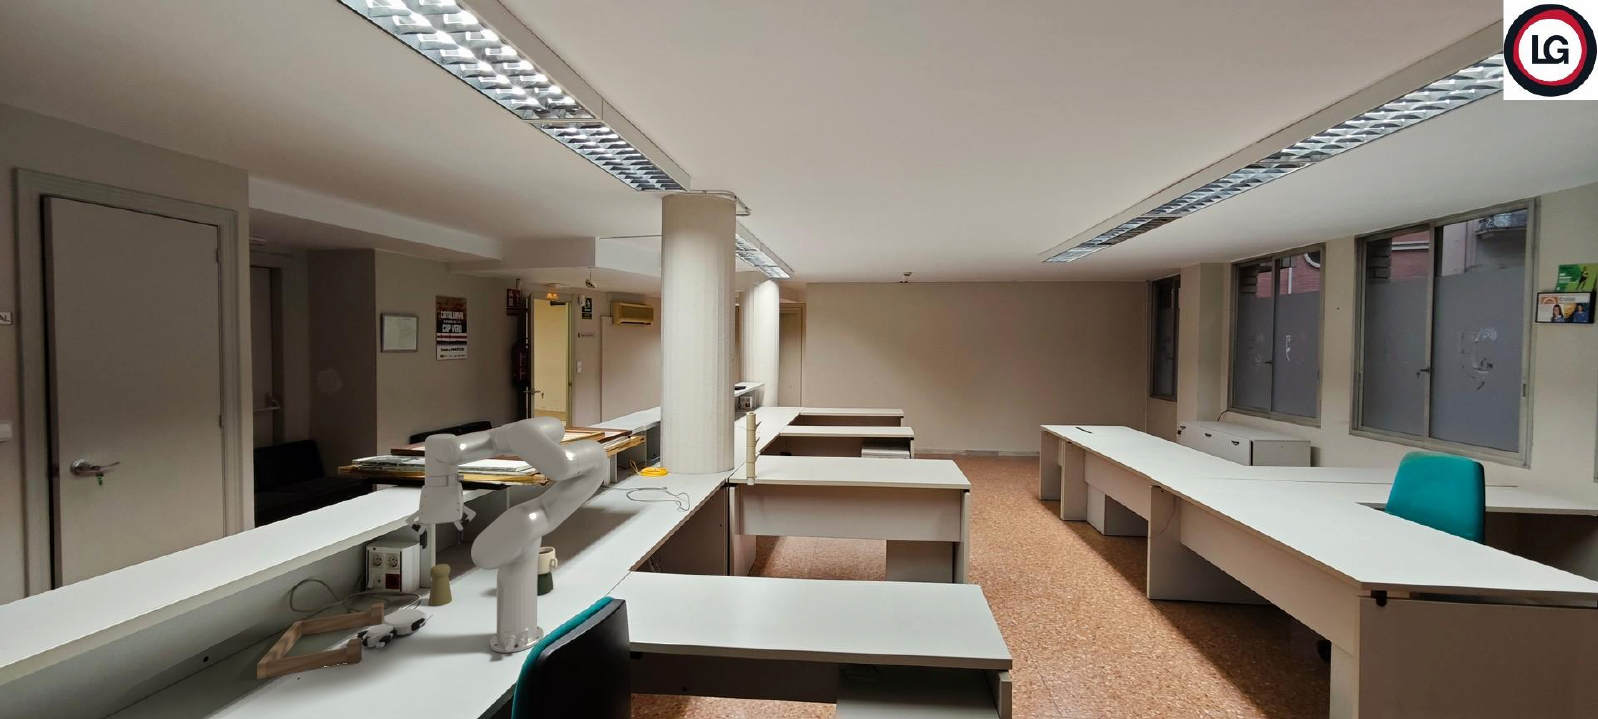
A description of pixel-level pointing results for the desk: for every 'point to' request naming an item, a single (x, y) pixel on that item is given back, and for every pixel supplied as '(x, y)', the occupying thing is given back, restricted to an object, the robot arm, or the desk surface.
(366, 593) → the desk surface
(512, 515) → the robot arm
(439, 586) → the cork
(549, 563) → the character mug
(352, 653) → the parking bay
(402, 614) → the robot toy
